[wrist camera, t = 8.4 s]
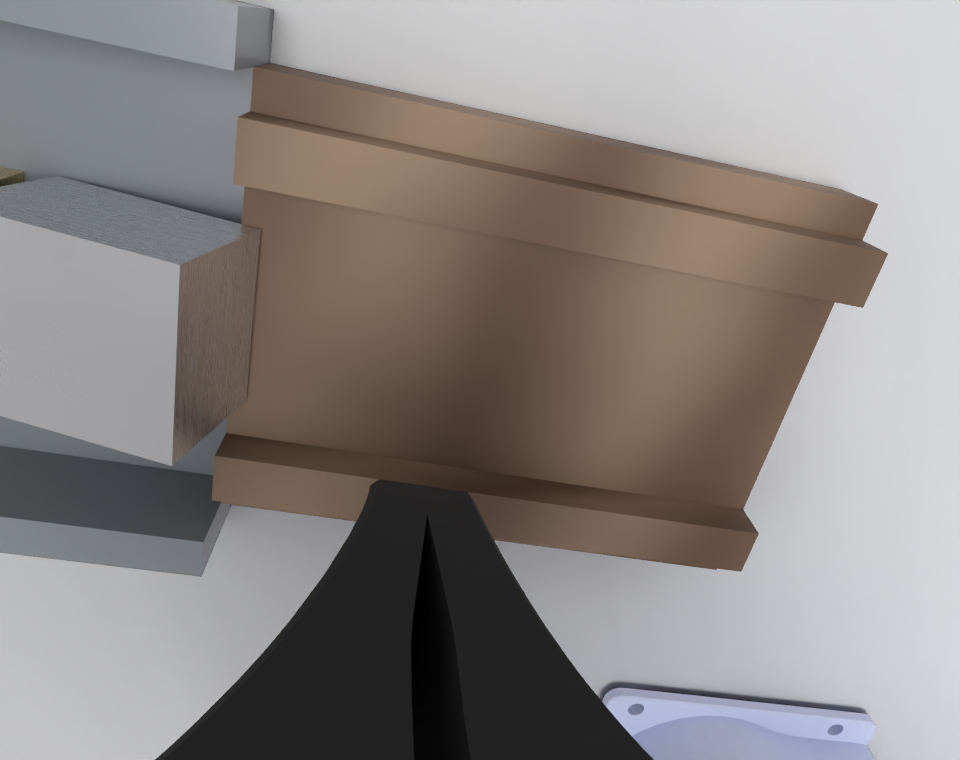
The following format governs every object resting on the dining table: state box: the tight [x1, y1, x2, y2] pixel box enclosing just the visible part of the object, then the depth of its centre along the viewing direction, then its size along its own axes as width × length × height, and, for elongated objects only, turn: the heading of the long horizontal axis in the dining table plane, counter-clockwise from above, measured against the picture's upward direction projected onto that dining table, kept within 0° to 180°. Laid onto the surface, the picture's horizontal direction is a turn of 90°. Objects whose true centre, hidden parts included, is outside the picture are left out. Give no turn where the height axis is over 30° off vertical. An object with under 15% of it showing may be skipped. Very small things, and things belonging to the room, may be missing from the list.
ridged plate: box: [212, 63, 888, 572], centre depth 17 cm, size 13×10×2 cm
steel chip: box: [0, 176, 261, 466], centre depth 14 cm, size 4×4×3 cm
